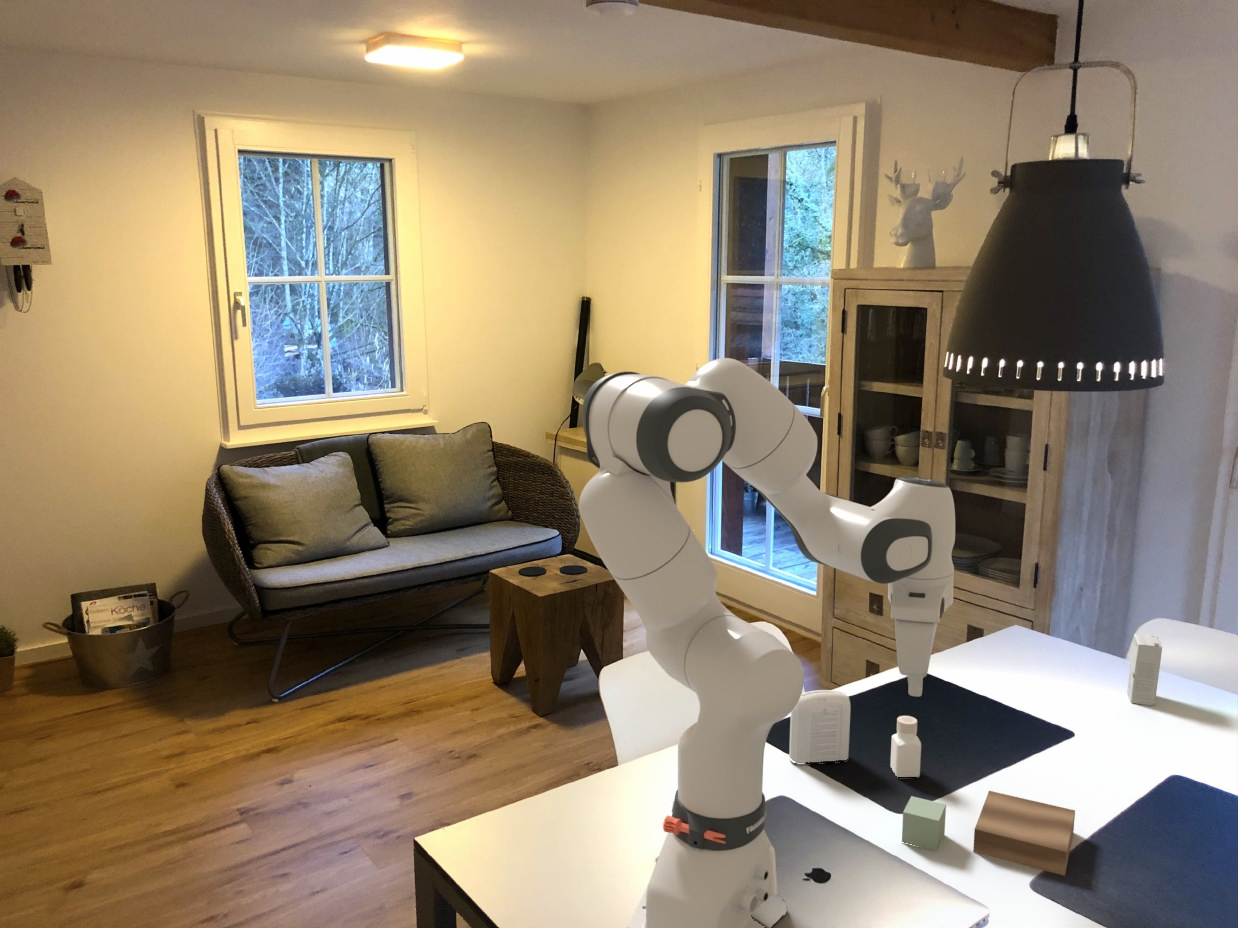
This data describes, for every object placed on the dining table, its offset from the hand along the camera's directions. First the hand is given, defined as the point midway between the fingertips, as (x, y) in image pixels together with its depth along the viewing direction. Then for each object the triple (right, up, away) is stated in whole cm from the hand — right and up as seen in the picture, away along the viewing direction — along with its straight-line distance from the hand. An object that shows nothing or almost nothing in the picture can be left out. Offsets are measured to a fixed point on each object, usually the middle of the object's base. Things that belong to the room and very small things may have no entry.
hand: (918, 680), depth 142 cm
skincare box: (+57, -14, +48) cm, 76 cm away
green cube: (+1, -24, +2) cm, 24 cm away
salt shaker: (+4, -20, +21) cm, 29 cm away
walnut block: (+16, -24, +1) cm, 29 cm away
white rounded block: (-9, -19, +26) cm, 34 cm away
